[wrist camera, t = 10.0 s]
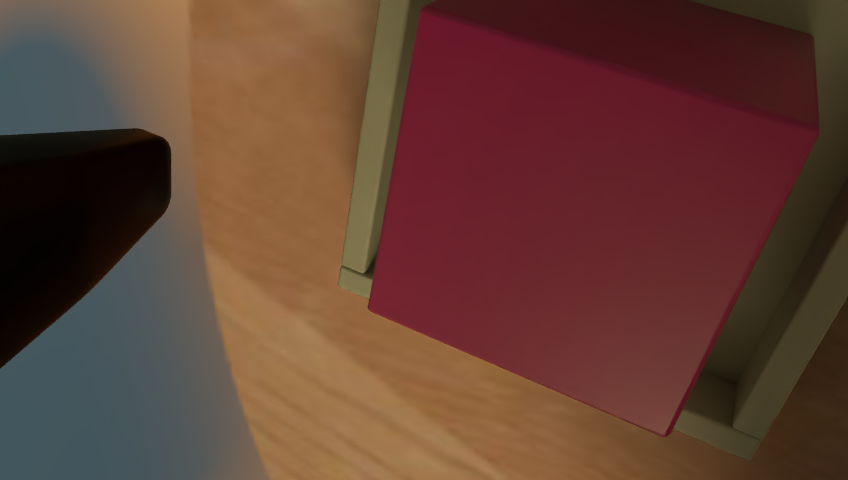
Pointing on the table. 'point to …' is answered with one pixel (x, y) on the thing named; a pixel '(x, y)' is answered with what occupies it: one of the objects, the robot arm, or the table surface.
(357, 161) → the tray
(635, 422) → the mulberry block
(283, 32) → the table surface
